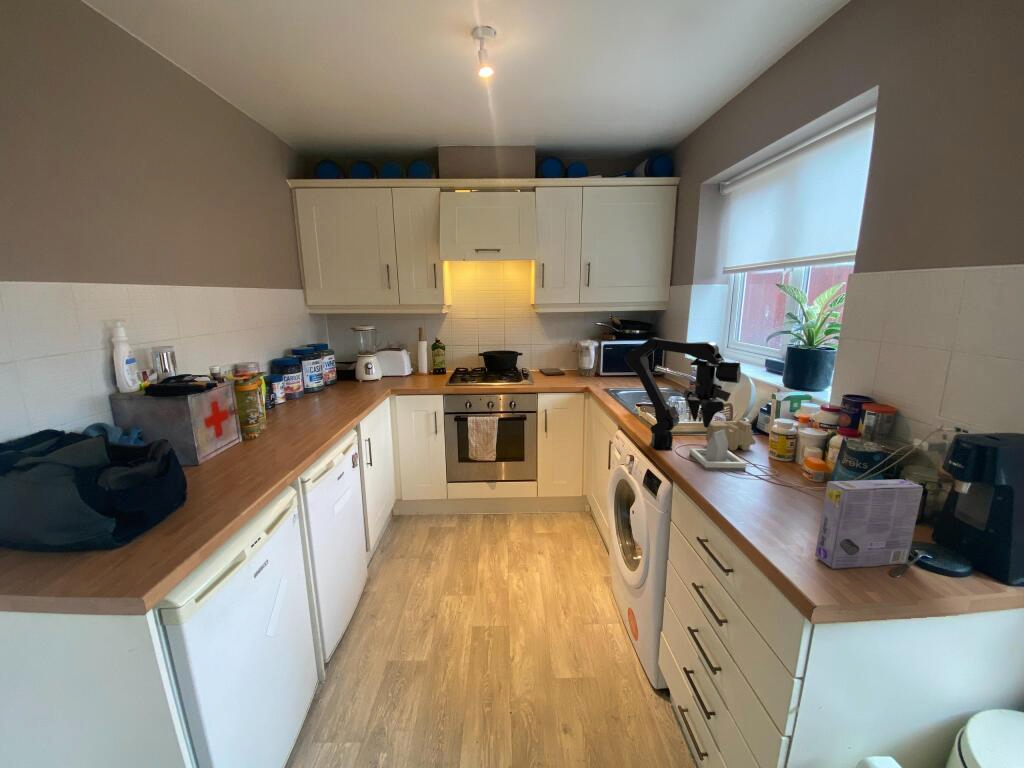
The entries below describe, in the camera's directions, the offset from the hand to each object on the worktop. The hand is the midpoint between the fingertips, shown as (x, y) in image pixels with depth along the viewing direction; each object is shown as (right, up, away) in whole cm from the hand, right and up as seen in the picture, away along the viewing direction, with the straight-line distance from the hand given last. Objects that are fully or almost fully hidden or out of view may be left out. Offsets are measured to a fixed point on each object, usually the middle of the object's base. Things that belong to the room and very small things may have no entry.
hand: (700, 423), depth 142 cm
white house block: (+4, -12, -4) cm, 13 cm away
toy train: (+15, -11, +10) cm, 21 cm away
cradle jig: (+4, -13, -3) cm, 14 cm away
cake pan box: (+9, -24, -55) cm, 61 cm away
